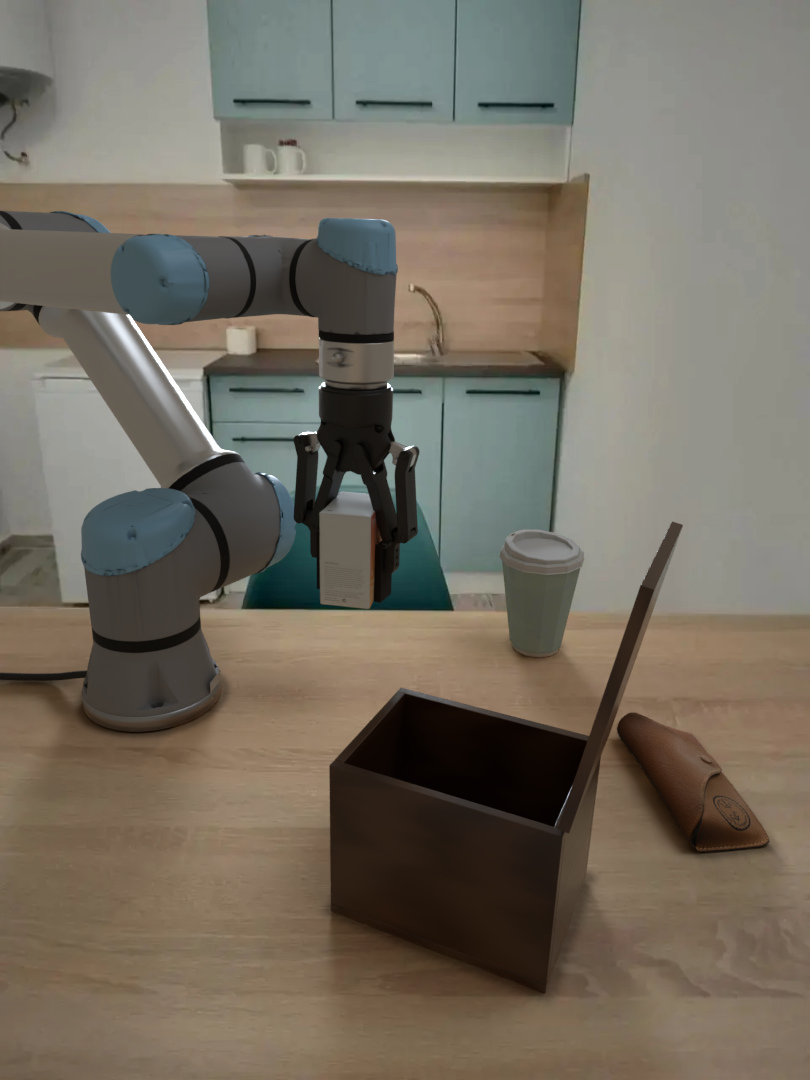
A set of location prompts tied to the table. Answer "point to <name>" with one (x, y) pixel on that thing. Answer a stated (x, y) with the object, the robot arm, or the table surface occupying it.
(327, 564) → the small box
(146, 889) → the table surface
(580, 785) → the lid
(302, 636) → the table surface
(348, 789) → the chest
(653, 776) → the sunglasses case
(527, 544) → the disposable coffee cup
